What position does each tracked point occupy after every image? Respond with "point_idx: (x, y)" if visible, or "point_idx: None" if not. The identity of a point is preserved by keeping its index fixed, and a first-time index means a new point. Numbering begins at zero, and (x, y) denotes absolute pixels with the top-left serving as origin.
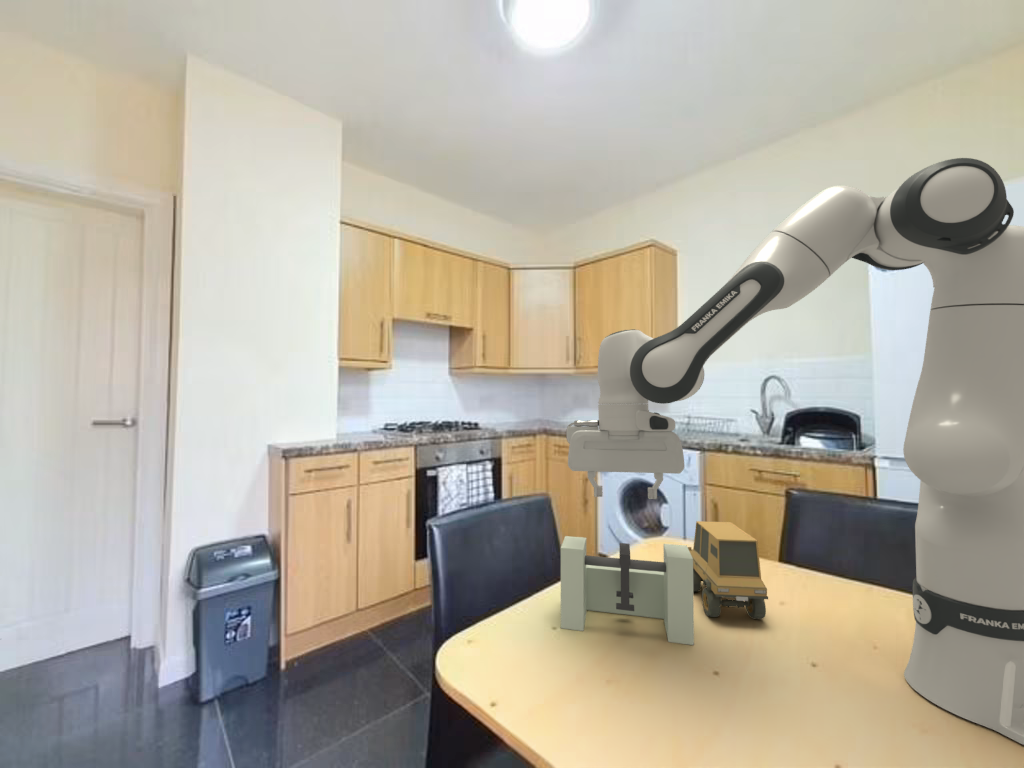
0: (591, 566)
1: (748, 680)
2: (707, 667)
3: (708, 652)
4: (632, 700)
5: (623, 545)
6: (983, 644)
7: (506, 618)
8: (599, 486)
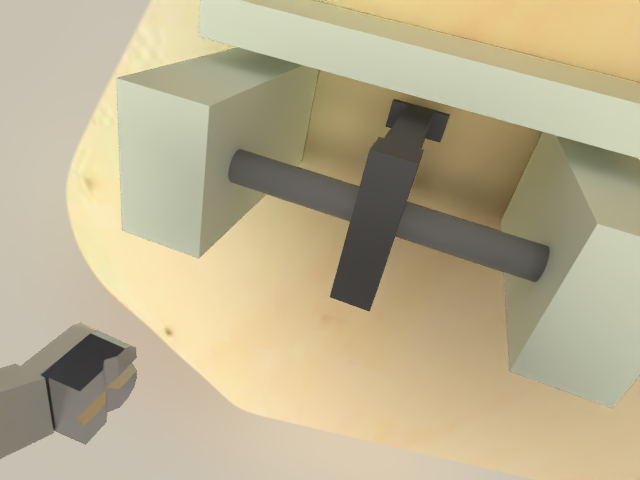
0: (294, 42)
1: None
2: None
3: None
4: (353, 360)
5: (378, 190)
6: None
7: None
8: (63, 411)
